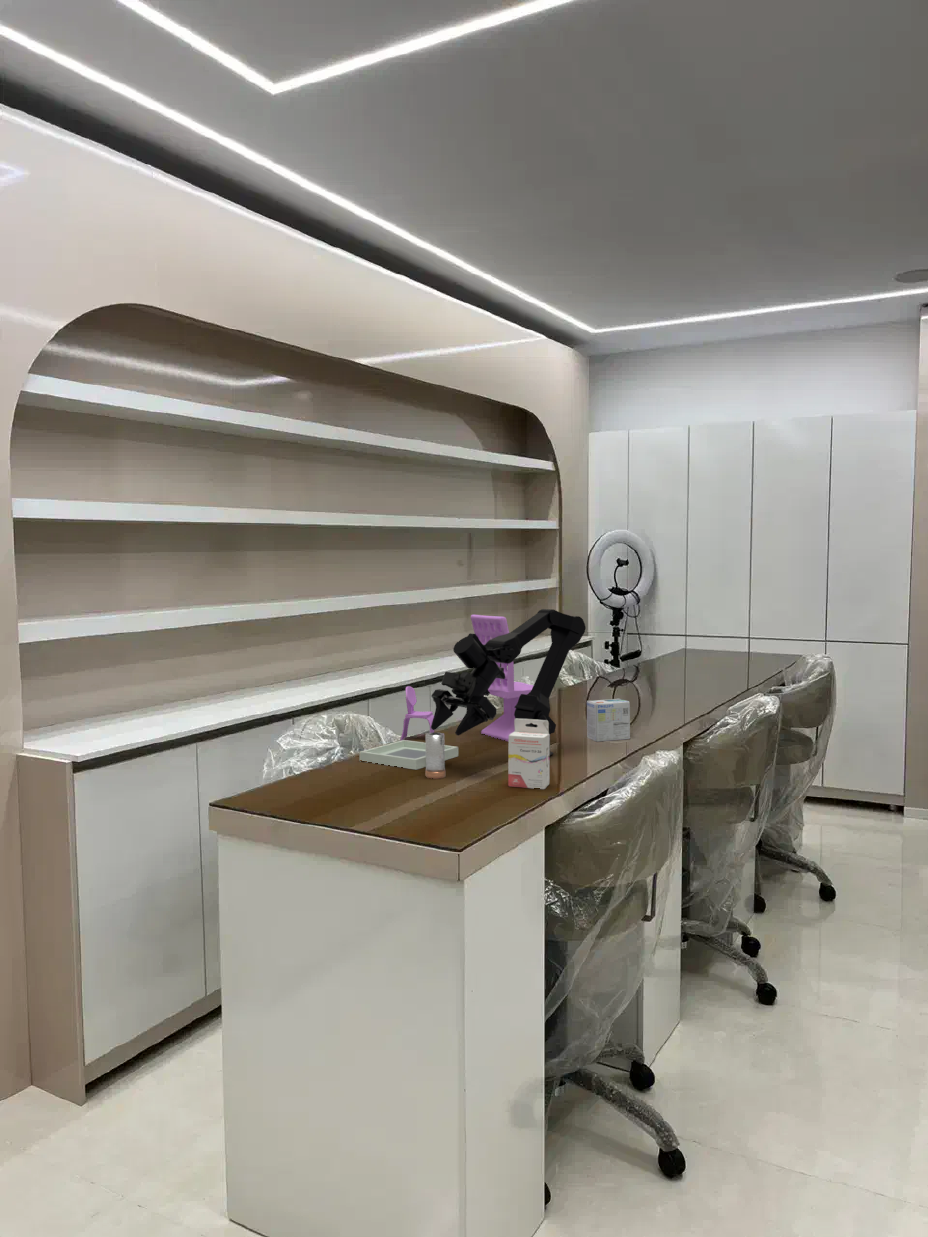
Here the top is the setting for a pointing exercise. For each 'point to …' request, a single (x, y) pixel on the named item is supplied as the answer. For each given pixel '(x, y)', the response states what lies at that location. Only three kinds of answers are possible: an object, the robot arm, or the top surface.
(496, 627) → the earring display
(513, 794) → the top surface
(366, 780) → the top surface
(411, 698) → the toy chair
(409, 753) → the sage tray
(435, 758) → the metal sleeve
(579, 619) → the robot arm
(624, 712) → the light bulb box
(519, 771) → the ink cartridge box
